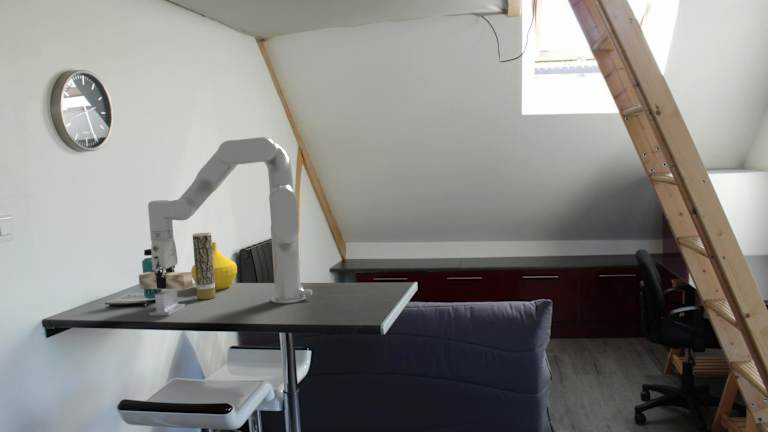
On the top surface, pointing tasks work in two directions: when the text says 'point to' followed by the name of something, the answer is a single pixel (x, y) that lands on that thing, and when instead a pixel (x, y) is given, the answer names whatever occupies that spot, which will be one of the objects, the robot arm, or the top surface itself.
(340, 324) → the top surface
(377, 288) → the top surface
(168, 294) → the fulcrum
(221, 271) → the vase
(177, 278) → the beam
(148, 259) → the beverage bottle
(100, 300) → the top surface
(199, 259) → the brown bark cylinder
